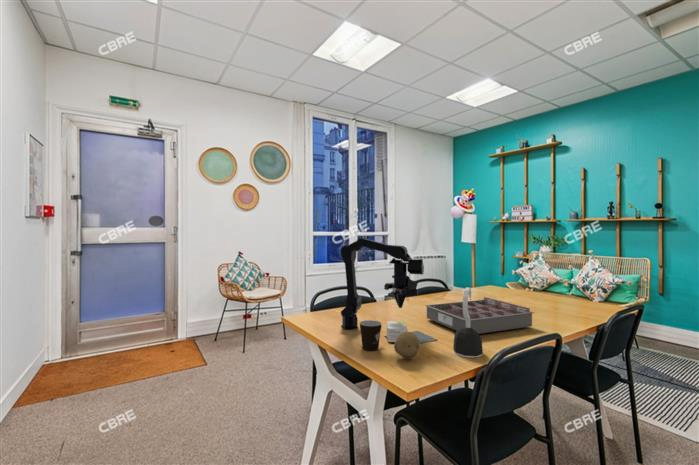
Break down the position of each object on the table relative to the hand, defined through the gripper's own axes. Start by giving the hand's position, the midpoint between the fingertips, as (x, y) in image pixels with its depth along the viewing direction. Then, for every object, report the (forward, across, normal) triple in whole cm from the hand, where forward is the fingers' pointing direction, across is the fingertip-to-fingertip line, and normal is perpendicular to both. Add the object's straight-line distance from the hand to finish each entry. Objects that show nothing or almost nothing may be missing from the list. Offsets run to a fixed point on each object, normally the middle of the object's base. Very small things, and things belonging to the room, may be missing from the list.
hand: (400, 307), depth 152 cm
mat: (+12, -8, 0) cm, 14 cm away
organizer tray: (+12, -4, -43) cm, 45 cm away
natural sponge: (+12, -27, +15) cm, 33 cm away
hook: (+12, -31, -10) cm, 35 cm away
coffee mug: (+12, -11, +20) cm, 26 cm away
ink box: (+9, +2, +1) cm, 9 cm away
